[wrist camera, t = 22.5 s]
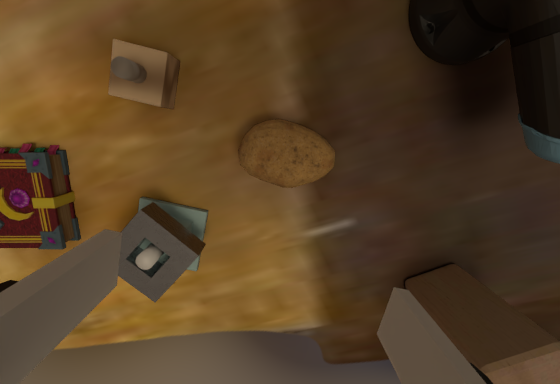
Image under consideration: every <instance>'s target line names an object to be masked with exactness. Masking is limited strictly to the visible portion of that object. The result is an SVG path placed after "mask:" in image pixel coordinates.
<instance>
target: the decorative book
mask: <svg viewBox="0 0 560 384" xmlns="http://www.w3.org/2000/svg"><path fill="white" fill-rule="evenodd" d="M31 145H32V144H23V145H22V148H21V149H20V150H19V149H13V148H11V149H10V151H4V150H5V149H6V148H0V248H39V249H64V248H66V244H65V242H67V241H69V240H80V239H81V236H80V231H79V225H78V220H77V218H75V212H74V206H73V202H74V201H75V195H74V191H71V189H70V183H69V178H68V175H69V168H68V161H67V155H66V150H57V149H58V147H59V145H50V148H49V149H48V150H44V149H45V148H36V149H35V151H28V150H29V149H30V148H31Z"/></svg>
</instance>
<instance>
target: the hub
mask: <svg viewBox="0 0 560 384" xmlns="http://www.w3.org/2000/svg"><path fill="white" fill-rule="evenodd" d="M152 202H154V203H156V204H157V205H158V206H159V207H160V208H162V209H163V210H164V211H165V212H167V213H168V214H169V215H170V216H172V217H173V218H174V219H175V220H177V221H178V222H179V223H180V224H182V225H183V226H184V227H185V228H187V229H188V230H189V231H190V232H191V233H193V234H194V235H195V236H196V237H198V238H199V239H200V240H201V241H203V238H204V233H205V227H206V222H207V216H208V210H203V209H198V208H194V207H189V206H184V205H179V204H175V203H170V202H165V201H161V200H156V199H151V198H146V197H141V198H140V201H139V209H138V212H139V211H140V210H141V209H142V208H144V207H146V206H147V205H149V204H150V203H152ZM140 248H142V249H143V251H142V252H141V253H140V254H139V255H138V256H137V257H136V264H137V266H138V267H139V268H141V269H144V270H147V269H150V268H151V267H152V266H153V265H154V264H155V263H156V262H157V261H159V262H160V263H161V264H163V263H164V262H165V261H166V260H167V259H168V258H169V257H170V256H168V255H167V254H166V253H165V252H163V251H162V250H161V249H159V248H158V247H157V246H155V245H154V244H153V243H152V242H150V241H149V240H148V239H146V240H145V241H144V242H143V243H142V244H141V246H140ZM200 255H201V253H200ZM200 255H199V256H198V257H197V259H196V260H195V261H194V262H193V263H192V264H191V265H190V266H189V267H188V268H187V269H188V270H193V271H197V269H198V266H199V260H200Z"/></svg>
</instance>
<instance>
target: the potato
mask: <svg viewBox="0 0 560 384" xmlns="http://www.w3.org/2000/svg"><path fill="white" fill-rule="evenodd" d="M238 152H239V159H240V165H241V166H242V167H243V168H244V169H245V170H246V171H247V172H248V173H249V174H250V175H252V176H254V177H256V178H258V179H260V180H263V181H266V182H269V183H272V184H275V185H277V186H280V187H286V188H293V187H297V186H300V185H304V184H307V183H311V182H314V181H316V180H318V179H320V178H322V177H324V176H325V175H326V174H327V173H328V172H329V171H330V170H331V169H332V168H333V167H334V162H335V151H334V149H333V148H332V147H331V146H330V144H329V143H328V142H327V141H326V139H325V138H323V137H322V136H320V135H319V134H317V133H316V132H314V131H312V130H310V129H308V128H306V127H304V126H301V125H299V124H296V123H293V122H289V121H285V120H282V119H275V120H268V121H264V122H262V123H259V124H256V125H254V126H253V127H252V128H251V129H250V130H249V131H248V132H247V133H246V134H245V136H244V138H243V140H242V142H241V145H240V147H239V150H238Z"/></svg>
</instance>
